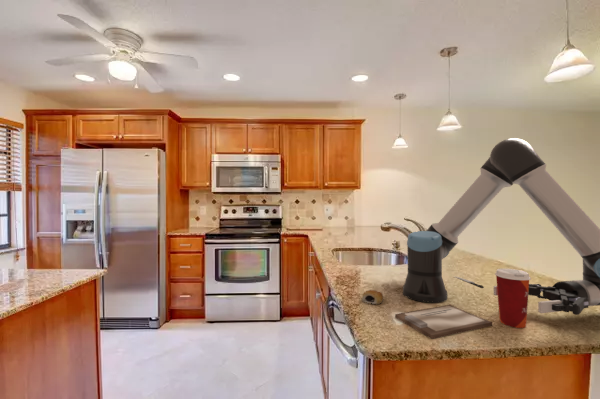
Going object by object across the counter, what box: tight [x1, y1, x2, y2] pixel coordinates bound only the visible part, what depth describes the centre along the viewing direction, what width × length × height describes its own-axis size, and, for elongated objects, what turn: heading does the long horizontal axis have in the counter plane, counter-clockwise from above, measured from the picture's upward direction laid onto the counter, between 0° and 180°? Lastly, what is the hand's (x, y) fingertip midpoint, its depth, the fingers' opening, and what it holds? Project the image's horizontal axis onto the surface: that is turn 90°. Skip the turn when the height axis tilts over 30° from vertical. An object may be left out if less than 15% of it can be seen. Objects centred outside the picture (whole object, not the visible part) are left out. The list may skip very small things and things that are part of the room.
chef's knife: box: [453, 276, 484, 289], centre depth 122 cm, size 19×1×3 cm
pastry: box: [360, 289, 384, 305], centre depth 99 cm, size 9×7×4 cm
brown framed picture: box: [394, 304, 493, 340], centre depth 81 cm, size 14×22×2 cm, turn 110°
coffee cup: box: [494, 267, 532, 329], centre depth 80 cm, size 8×8×15 cm
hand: (515, 298), depth 79 cm, fingers open, 13 cm apart
